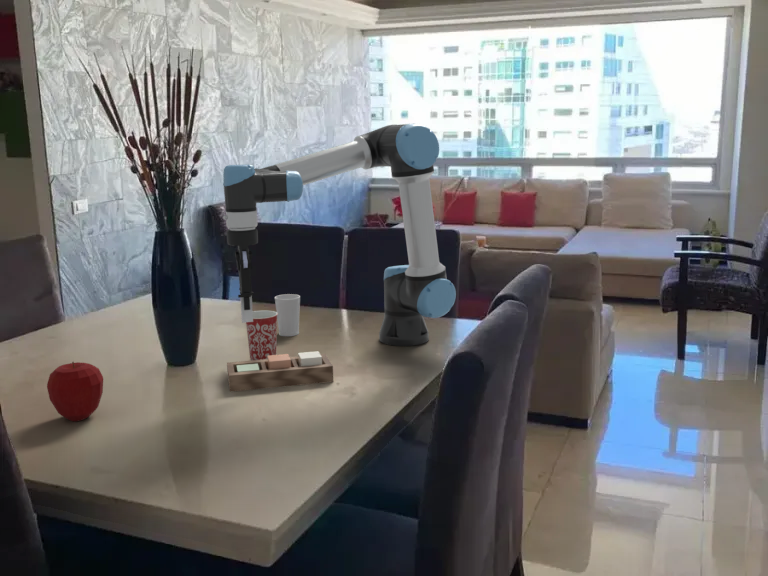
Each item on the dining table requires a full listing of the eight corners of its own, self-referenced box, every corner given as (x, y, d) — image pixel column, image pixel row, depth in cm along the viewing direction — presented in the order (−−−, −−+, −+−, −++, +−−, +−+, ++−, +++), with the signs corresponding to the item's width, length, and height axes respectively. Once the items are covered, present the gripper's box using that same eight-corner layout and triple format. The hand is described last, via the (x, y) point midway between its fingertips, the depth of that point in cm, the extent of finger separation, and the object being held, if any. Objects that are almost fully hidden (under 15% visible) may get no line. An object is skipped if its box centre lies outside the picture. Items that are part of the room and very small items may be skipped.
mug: (276, 365, 205) (274, 317, 202) (244, 365, 205) (241, 318, 203) (284, 352, 217) (282, 307, 215) (253, 352, 218) (251, 307, 215)
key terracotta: (288, 366, 196) (288, 353, 195) (291, 373, 190) (290, 359, 190) (268, 368, 194) (267, 355, 194) (270, 375, 189) (269, 361, 188)
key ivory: (318, 364, 197) (318, 351, 197) (322, 370, 192) (321, 356, 192) (298, 366, 196) (298, 352, 195) (301, 372, 191) (300, 358, 190)
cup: (297, 337, 233) (296, 299, 231) (273, 336, 234) (271, 299, 232) (304, 330, 241) (302, 294, 238) (280, 330, 242) (278, 293, 239)
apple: (115, 417, 169) (110, 360, 166) (63, 431, 161) (57, 372, 158) (93, 404, 177) (87, 350, 175) (42, 417, 169) (36, 361, 167)
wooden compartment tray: (325, 368, 201) (325, 354, 200) (333, 381, 191) (332, 366, 190) (227, 378, 195) (226, 362, 194) (229, 391, 184) (228, 375, 184)
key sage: (258, 376, 194) (257, 363, 193) (260, 383, 189) (259, 369, 188) (237, 378, 193) (236, 365, 192) (238, 385, 188) (237, 371, 187)
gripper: (225, 226, 188) (231, 316, 193) (227, 232, 176) (233, 329, 181) (255, 224, 190) (260, 314, 195) (259, 230, 178) (264, 326, 182)
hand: (247, 321), depth 188 cm, fingers closed
